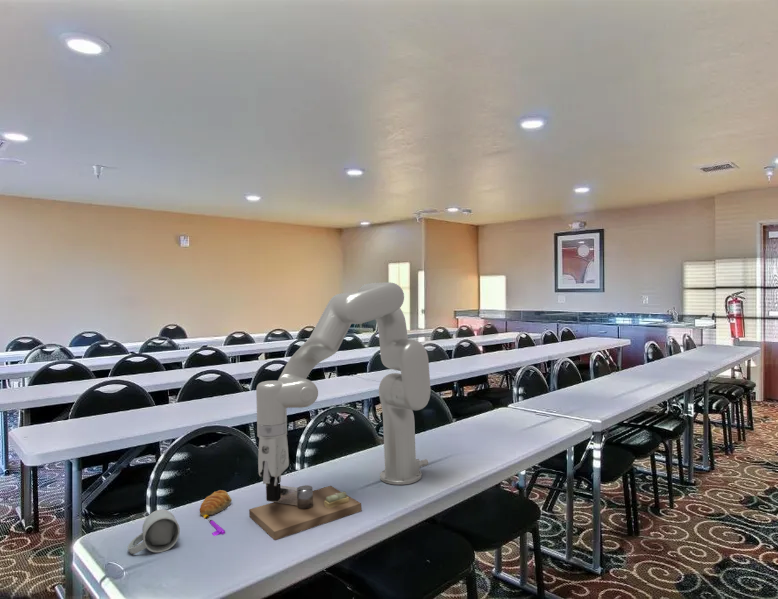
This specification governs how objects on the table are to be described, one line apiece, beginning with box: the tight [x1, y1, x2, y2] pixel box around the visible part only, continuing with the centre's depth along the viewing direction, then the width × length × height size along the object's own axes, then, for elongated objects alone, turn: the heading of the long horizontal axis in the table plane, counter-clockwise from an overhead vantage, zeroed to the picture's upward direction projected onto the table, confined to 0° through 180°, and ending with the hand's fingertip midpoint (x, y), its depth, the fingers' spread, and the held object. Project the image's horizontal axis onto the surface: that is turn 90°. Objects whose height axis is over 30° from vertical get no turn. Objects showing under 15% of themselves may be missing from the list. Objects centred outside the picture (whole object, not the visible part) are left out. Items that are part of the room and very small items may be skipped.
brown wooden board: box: [248, 485, 362, 541], centre depth 133 cm, size 24×16×5 cm, turn 126°
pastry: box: [199, 489, 233, 516], centre depth 138 cm, size 9×7×4 cm
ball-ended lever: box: [265, 484, 314, 509], centre depth 135 cm, size 14×4×4 cm, turn 68°
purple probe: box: [201, 515, 226, 537], centre depth 130 cm, size 3×1×16 cm
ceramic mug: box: [127, 509, 181, 555], centre depth 119 cm, size 11×8×8 cm
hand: (273, 499), depth 134 cm, fingers closed
